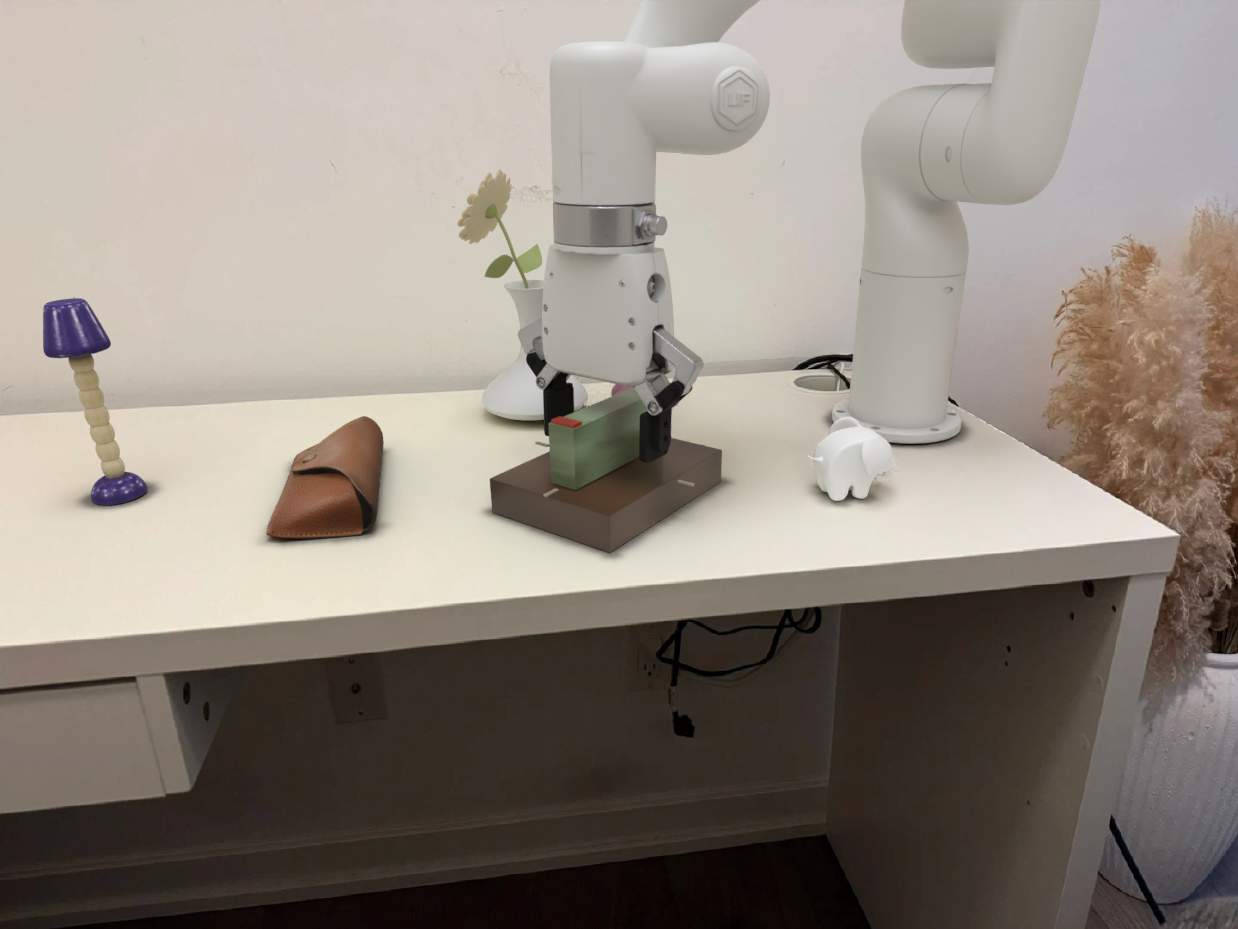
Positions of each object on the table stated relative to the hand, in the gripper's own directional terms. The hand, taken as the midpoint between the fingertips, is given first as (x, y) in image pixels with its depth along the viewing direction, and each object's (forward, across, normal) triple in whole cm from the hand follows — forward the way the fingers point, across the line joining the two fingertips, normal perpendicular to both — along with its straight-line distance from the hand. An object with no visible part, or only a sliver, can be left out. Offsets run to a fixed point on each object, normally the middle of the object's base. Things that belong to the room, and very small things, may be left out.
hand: (605, 444), depth 69 cm
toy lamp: (+6, +35, +24) cm, 42 cm away
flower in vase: (+5, +20, -12) cm, 24 cm away
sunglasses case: (+5, +20, +12) cm, 24 cm away
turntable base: (+5, 0, 0) cm, 5 cm away
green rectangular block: (+2, 0, 0) cm, 2 cm away
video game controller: (+5, +11, -18) cm, 22 cm away
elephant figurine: (+5, -16, -12) cm, 21 cm away
